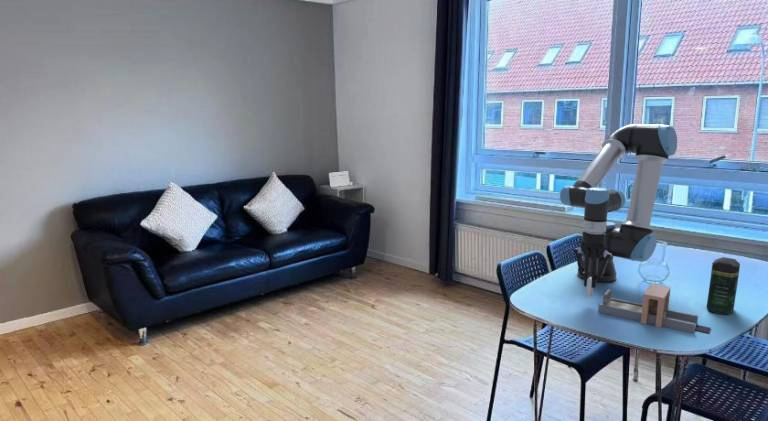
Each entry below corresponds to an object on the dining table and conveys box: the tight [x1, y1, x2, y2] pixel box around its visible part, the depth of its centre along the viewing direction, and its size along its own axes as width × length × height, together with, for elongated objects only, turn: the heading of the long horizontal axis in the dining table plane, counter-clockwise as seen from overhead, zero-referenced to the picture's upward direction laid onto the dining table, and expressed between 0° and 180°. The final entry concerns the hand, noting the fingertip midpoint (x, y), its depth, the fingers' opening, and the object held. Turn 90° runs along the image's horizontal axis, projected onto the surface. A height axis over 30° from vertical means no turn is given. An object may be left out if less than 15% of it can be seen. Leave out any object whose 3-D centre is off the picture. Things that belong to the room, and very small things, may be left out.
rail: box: [597, 297, 699, 334], centre depth 176 cm, size 29×9×3 cm, turn 53°
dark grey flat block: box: [694, 324, 712, 334], centre depth 166 cm, size 4×5×1 cm
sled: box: [602, 288, 667, 317], centre depth 177 cm, size 19×6×6 cm, turn 53°
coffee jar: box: [706, 256, 741, 315], centre depth 180 cm, size 10×8×19 cm
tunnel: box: [640, 283, 671, 329], centre depth 173 cm, size 6×12×10 cm, turn 143°
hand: (589, 295), depth 186 cm, fingers closed
